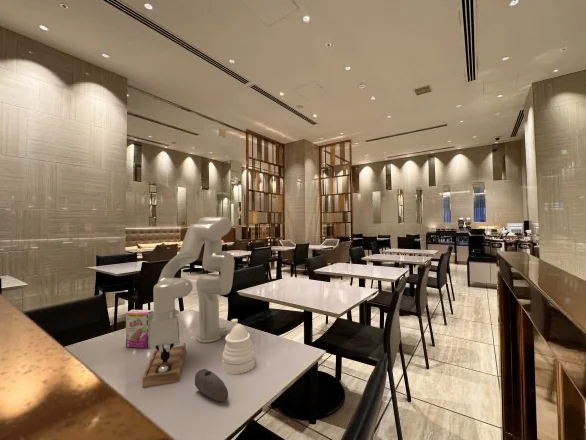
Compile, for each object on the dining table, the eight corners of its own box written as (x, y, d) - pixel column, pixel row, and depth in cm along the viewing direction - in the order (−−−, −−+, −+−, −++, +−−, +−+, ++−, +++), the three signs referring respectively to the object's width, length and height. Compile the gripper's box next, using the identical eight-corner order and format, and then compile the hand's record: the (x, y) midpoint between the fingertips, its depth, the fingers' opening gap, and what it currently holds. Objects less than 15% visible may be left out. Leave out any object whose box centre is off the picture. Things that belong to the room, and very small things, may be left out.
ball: (169, 373, 107) (169, 362, 107) (168, 378, 103) (168, 367, 103) (158, 374, 106) (158, 364, 106) (156, 380, 102) (156, 368, 102)
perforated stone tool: (233, 401, 90) (233, 380, 90) (220, 410, 86) (219, 388, 86) (206, 384, 100) (206, 365, 100) (193, 391, 96) (193, 371, 95)
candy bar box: (125, 348, 127) (124, 312, 127) (132, 343, 132) (131, 309, 132) (148, 349, 126) (147, 313, 126) (154, 344, 131) (154, 309, 131)
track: (156, 354, 121) (156, 346, 121) (185, 350, 124) (185, 342, 124) (142, 387, 98) (142, 377, 98) (179, 381, 101) (178, 372, 101)
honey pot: (215, 369, 109) (214, 323, 109) (236, 354, 121) (236, 313, 120) (241, 377, 103) (240, 329, 103) (261, 361, 115) (260, 318, 114)
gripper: (185, 309, 114) (186, 353, 114) (145, 313, 110) (146, 359, 110) (183, 315, 107) (184, 362, 107) (140, 320, 103) (141, 369, 103)
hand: (165, 360), depth 109 cm, fingers closed
